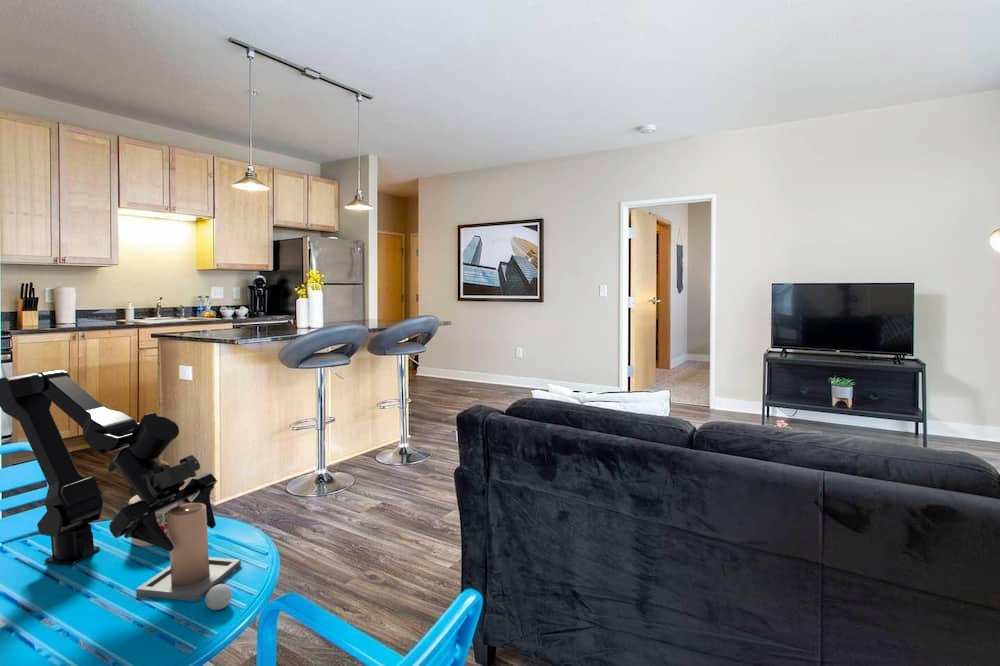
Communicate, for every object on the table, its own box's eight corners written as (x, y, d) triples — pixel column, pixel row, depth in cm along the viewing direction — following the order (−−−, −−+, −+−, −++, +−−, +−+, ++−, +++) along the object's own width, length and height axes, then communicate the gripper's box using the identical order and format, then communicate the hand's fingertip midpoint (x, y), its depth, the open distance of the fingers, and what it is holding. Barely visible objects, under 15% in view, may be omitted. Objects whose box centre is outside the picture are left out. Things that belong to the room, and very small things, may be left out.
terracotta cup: (165, 588, 97) (161, 518, 95) (178, 569, 103) (174, 504, 101) (203, 583, 98) (199, 514, 97) (213, 566, 104) (210, 501, 103)
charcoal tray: (136, 595, 95) (136, 588, 95) (186, 560, 107) (185, 554, 107) (197, 601, 93) (196, 595, 93) (240, 565, 105) (240, 559, 105)
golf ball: (200, 614, 90) (199, 592, 89) (214, 600, 94) (213, 578, 93) (223, 615, 90) (222, 592, 89) (237, 601, 94) (235, 579, 93)
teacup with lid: (140, 552, 111) (136, 497, 109) (124, 539, 116) (120, 487, 115) (201, 530, 120) (198, 480, 119) (183, 519, 126) (180, 471, 124)
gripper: (116, 463, 90) (171, 535, 88) (207, 433, 108) (254, 492, 106) (86, 502, 93) (138, 573, 91) (179, 467, 111) (224, 525, 109)
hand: (193, 537), depth 99 cm, fingers open, 9 cm apart
